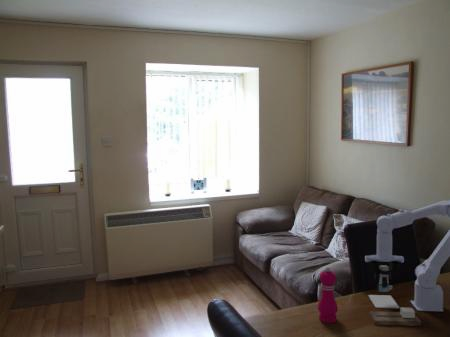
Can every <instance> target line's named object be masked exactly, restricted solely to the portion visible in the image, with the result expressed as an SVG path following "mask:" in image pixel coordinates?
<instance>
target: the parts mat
mask: <svg viewBox="0 0 450 337" xmlns="http://www.w3.org/2000/svg"><path fill="white" fill-rule="evenodd" d="M367 296H368V297H369V299H370V300H371V302H372V304H373V306H374V307H375V308H376V309H400V306H399V305H398V303H397V302H396V300H395V299H394V298H393V297H392V295H390V294H389V295H386V294H385V295H384V294H381V295H379V294H368V295H367Z"/></svg>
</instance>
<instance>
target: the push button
mask: <svg viewBox="0 0 450 337" xmlns="http://www.w3.org/2000/svg"><path fill="white" fill-rule="evenodd" d="M391 271H392V270H391V269H390V266H388V265H386V264H385V265H383V264H382V265H381V264H380V265H379V268H378V275H379V277H378V281H379V282H378V283H377V284H376V291H378V292H380V293H383V292H385V293H388V292H390V291H391V290H393V285H391V284H389V279H390V276H389V275H390V274H391Z"/></svg>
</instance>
